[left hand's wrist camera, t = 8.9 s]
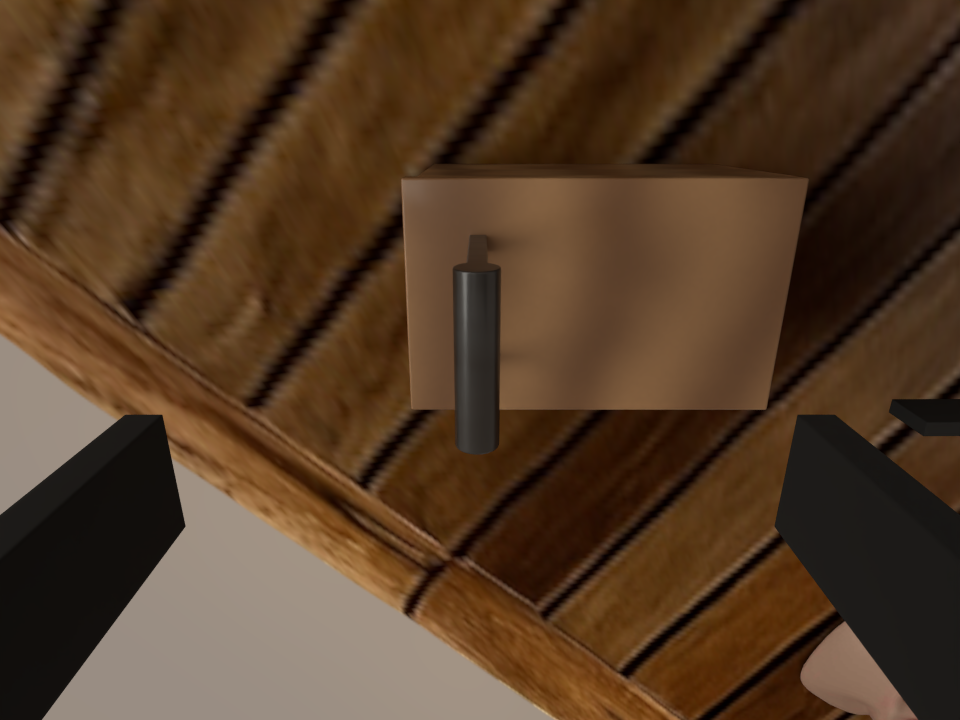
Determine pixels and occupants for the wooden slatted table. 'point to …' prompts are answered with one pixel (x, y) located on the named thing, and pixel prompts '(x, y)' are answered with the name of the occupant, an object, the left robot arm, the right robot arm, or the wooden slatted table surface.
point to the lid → (594, 293)
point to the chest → (592, 170)
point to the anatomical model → (852, 678)
